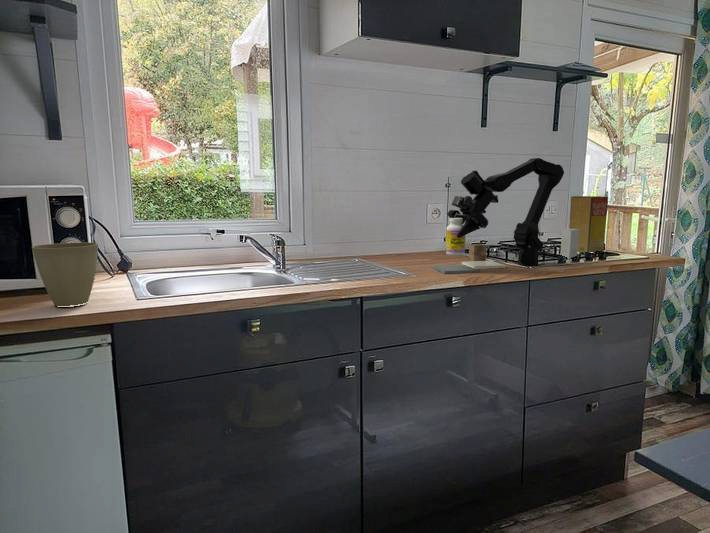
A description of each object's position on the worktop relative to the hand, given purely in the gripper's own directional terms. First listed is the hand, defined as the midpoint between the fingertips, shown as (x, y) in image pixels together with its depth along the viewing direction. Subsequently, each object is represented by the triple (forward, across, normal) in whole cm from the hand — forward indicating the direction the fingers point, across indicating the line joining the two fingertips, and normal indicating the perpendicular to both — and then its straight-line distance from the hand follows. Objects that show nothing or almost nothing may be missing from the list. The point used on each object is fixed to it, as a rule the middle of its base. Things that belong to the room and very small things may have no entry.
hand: (452, 236), depth 174 cm
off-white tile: (-2, -4, +20) cm, 21 cm away
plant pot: (+92, +5, -76) cm, 120 cm away
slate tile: (+8, 0, +10) cm, 12 cm away
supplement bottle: (+4, 0, +6) cm, 7 cm away
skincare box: (-32, -6, +51) cm, 61 cm away
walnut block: (-5, -14, +23) cm, 27 cm away
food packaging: (-47, -17, +66) cm, 83 cm away
